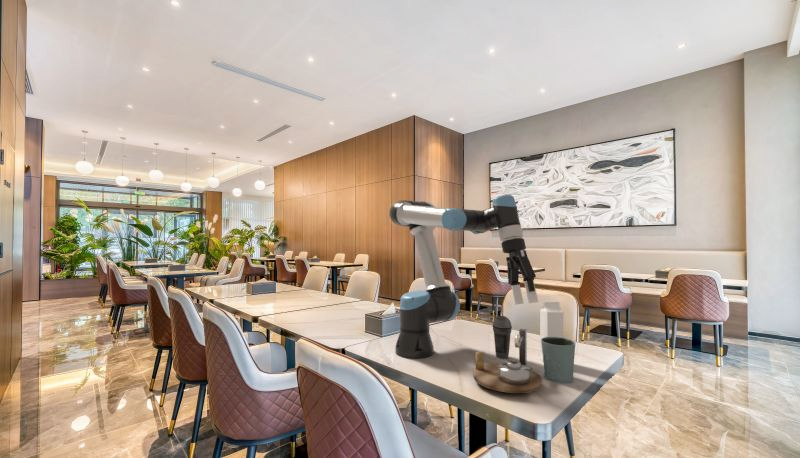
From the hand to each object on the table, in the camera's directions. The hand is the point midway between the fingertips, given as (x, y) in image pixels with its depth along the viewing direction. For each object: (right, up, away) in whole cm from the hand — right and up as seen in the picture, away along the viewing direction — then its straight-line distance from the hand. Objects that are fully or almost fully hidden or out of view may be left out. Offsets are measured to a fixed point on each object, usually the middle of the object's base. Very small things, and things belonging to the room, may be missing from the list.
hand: (526, 303), depth 114 cm
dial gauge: (-1, -24, +2) cm, 24 cm away
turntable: (-8, -22, -5) cm, 24 cm away
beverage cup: (-2, -25, +20) cm, 32 cm away
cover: (-7, -21, -9) cm, 24 cm away
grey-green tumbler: (+10, -24, 0) cm, 26 cm away
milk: (+15, -25, +15) cm, 33 cm away
